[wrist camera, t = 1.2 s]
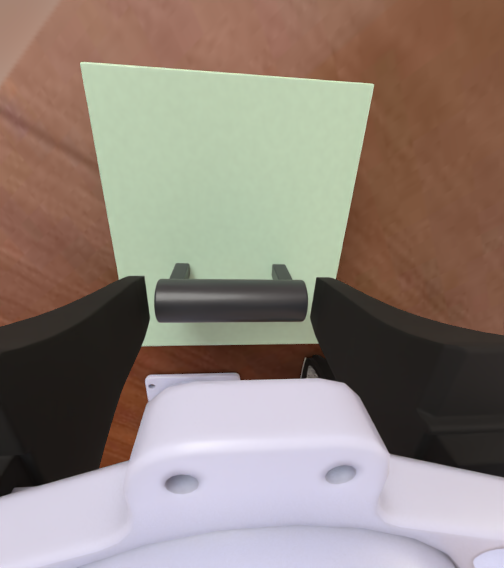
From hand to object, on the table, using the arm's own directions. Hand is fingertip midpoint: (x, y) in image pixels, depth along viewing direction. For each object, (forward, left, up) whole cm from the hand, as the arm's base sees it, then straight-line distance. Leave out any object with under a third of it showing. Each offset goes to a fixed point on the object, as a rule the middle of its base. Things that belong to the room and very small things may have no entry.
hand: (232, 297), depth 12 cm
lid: (+2, 0, -4) cm, 4 cm away
